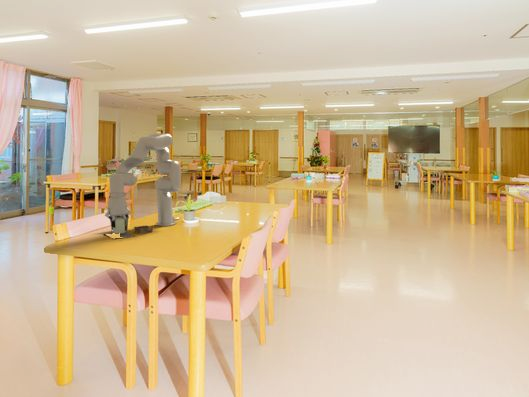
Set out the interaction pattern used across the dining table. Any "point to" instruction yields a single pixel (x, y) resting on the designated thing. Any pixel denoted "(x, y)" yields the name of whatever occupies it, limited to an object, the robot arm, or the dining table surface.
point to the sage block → (119, 226)
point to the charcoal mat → (126, 234)
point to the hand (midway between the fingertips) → (118, 226)
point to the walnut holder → (143, 229)
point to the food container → (125, 220)
